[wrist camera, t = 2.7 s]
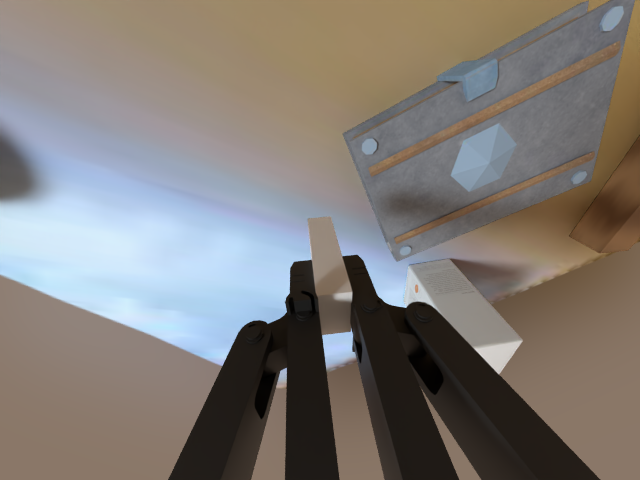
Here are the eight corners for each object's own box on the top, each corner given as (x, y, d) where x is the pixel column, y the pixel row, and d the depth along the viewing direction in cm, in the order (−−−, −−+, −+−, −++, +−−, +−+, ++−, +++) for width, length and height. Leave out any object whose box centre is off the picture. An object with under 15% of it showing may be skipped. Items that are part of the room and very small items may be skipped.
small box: (440, 294, 38) (498, 378, 27) (402, 300, 38) (445, 387, 27) (450, 257, 33) (526, 340, 22) (407, 263, 33) (462, 351, 22)
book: (387, 246, 31) (401, 271, 27) (339, 128, 22) (350, 139, 18) (552, 174, 27) (598, 191, 23) (576, -3, 18) (656, -26, 14)
